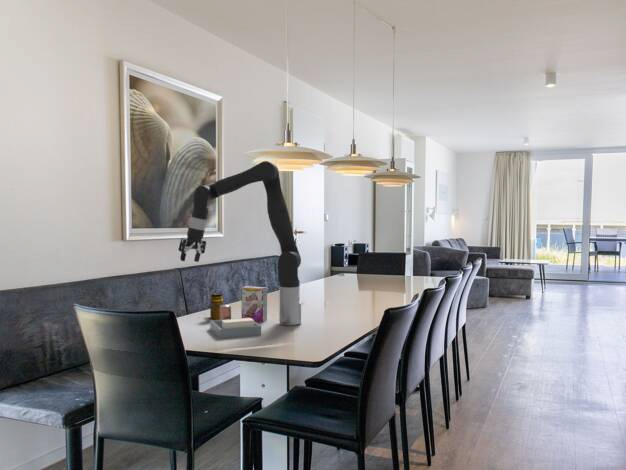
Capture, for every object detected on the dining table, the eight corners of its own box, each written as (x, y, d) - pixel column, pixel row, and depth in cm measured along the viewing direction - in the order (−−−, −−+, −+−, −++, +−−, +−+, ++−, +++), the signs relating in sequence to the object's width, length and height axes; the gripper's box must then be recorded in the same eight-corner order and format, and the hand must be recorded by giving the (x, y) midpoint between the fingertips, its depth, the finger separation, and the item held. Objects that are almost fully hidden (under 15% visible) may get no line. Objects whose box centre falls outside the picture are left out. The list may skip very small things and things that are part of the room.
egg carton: (250, 331, 214) (250, 317, 213) (254, 334, 209) (254, 320, 209) (221, 334, 209) (221, 320, 209) (224, 336, 204) (224, 322, 204)
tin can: (229, 324, 232) (229, 304, 232) (232, 326, 227) (232, 306, 227) (218, 325, 230) (218, 305, 230) (221, 327, 225) (221, 306, 225)
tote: (248, 327, 225) (248, 317, 225) (261, 336, 208) (261, 326, 208) (210, 331, 218) (210, 320, 218) (220, 341, 201) (219, 329, 201)
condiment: (226, 319, 243) (226, 294, 243) (209, 321, 239) (209, 295, 238) (220, 316, 249) (220, 292, 249) (203, 318, 245) (203, 293, 244)
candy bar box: (240, 322, 236) (240, 287, 235) (245, 320, 240) (245, 285, 240) (262, 324, 232) (262, 288, 231) (267, 322, 237) (267, 287, 236)
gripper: (190, 228, 230) (183, 262, 231) (213, 230, 242) (205, 263, 243) (179, 224, 235) (172, 258, 236) (202, 227, 246) (195, 259, 247)
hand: (189, 261), depth 239 cm, fingers open, 8 cm apart
